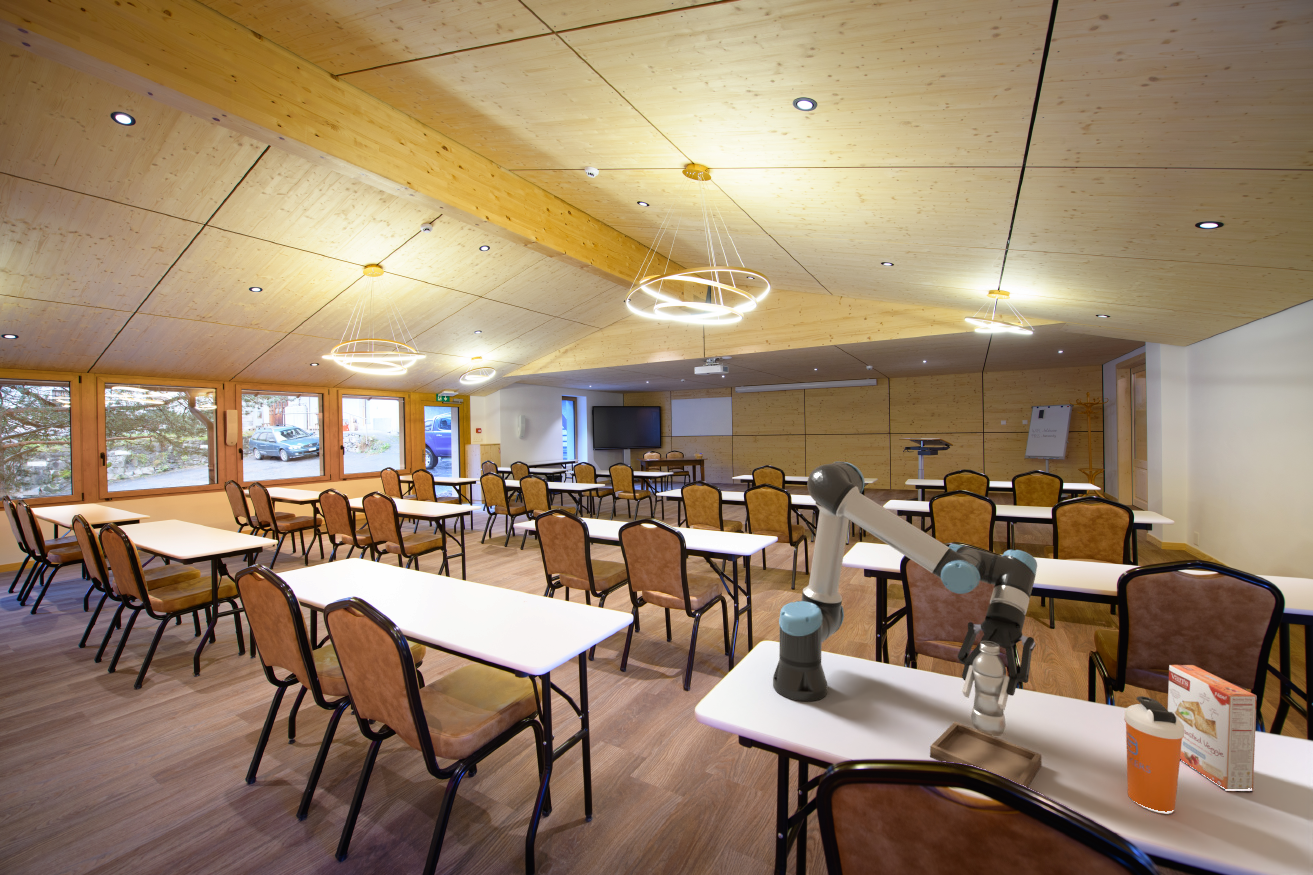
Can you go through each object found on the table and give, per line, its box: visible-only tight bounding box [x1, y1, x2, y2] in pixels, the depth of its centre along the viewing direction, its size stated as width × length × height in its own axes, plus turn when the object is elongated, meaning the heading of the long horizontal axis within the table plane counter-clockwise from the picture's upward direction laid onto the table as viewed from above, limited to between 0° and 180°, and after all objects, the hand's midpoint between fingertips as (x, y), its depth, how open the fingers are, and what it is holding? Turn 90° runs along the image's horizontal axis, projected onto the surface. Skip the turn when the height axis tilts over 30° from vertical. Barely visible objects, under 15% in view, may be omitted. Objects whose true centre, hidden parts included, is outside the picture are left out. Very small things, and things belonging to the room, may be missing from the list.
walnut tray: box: [929, 721, 1042, 788], centre depth 124 cm, size 18×15×2 cm
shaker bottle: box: [1123, 695, 1184, 812], centre depth 110 cm, size 9×9×20 cm
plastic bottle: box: [970, 640, 1007, 737], centre depth 123 cm, size 6×7×20 cm
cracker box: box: [1167, 664, 1258, 790], centre depth 120 cm, size 14×6×21 cm, turn 178°
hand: (983, 700), depth 121 cm, fingers closed on plastic bottle, 6 cm apart
